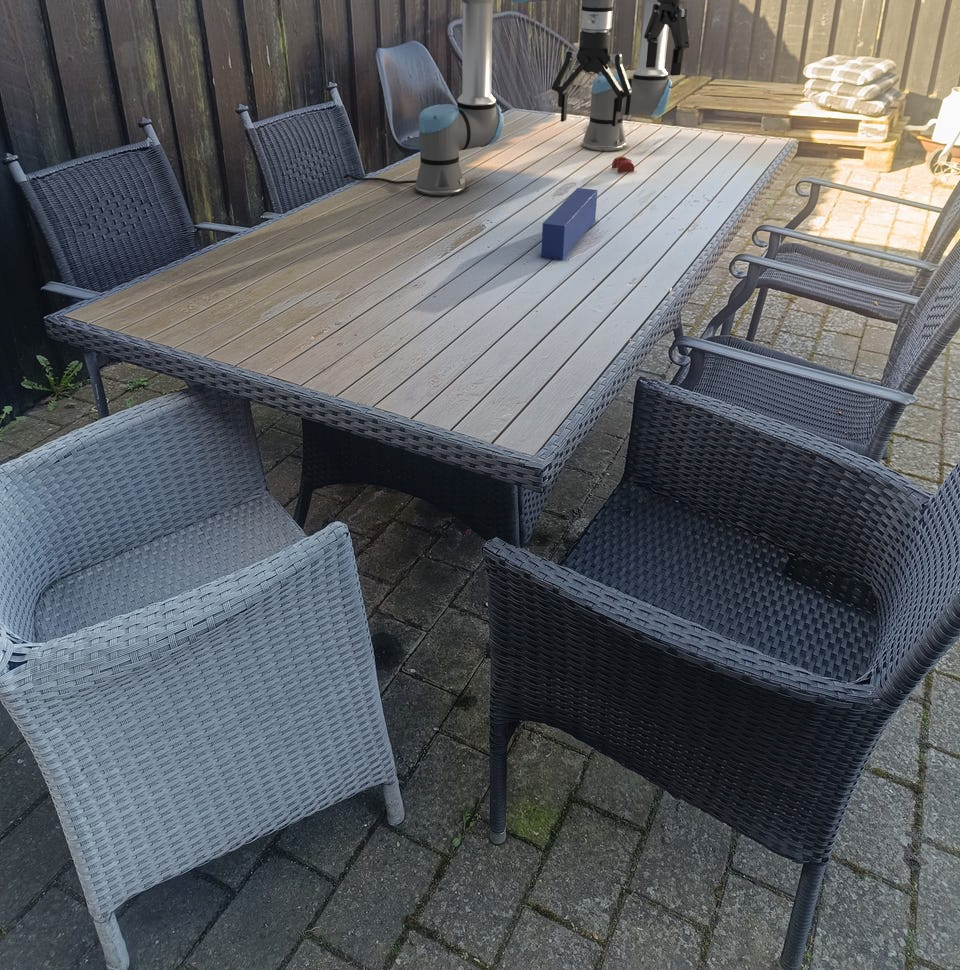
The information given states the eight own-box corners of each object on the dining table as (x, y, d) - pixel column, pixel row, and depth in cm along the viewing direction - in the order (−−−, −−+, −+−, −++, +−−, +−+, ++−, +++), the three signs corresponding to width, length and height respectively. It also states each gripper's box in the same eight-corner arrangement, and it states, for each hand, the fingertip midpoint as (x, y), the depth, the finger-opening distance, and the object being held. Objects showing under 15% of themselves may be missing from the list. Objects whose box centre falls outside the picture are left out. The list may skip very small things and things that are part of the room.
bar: (575, 219, 236) (577, 187, 231) (595, 221, 234) (597, 189, 229) (541, 257, 212) (542, 223, 207) (562, 260, 210) (564, 226, 205)
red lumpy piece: (626, 152, 277) (636, 159, 270) (626, 166, 279) (635, 172, 273) (610, 154, 276) (620, 161, 269) (610, 167, 278) (619, 174, 272)
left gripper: (542, 29, 205) (538, 121, 218) (643, 35, 198) (633, 130, 211) (551, 25, 211) (547, 115, 224) (649, 30, 204) (639, 123, 216)
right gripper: (709, -10, 222) (697, 77, 235) (660, -19, 241) (651, 63, 254) (685, -9, 220) (674, 79, 233) (637, -18, 239) (629, 64, 252)
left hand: (588, 123), depth 217 cm, fingers open, 13 cm apart
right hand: (662, 71), depth 243 cm, fingers open, 13 cm apart
